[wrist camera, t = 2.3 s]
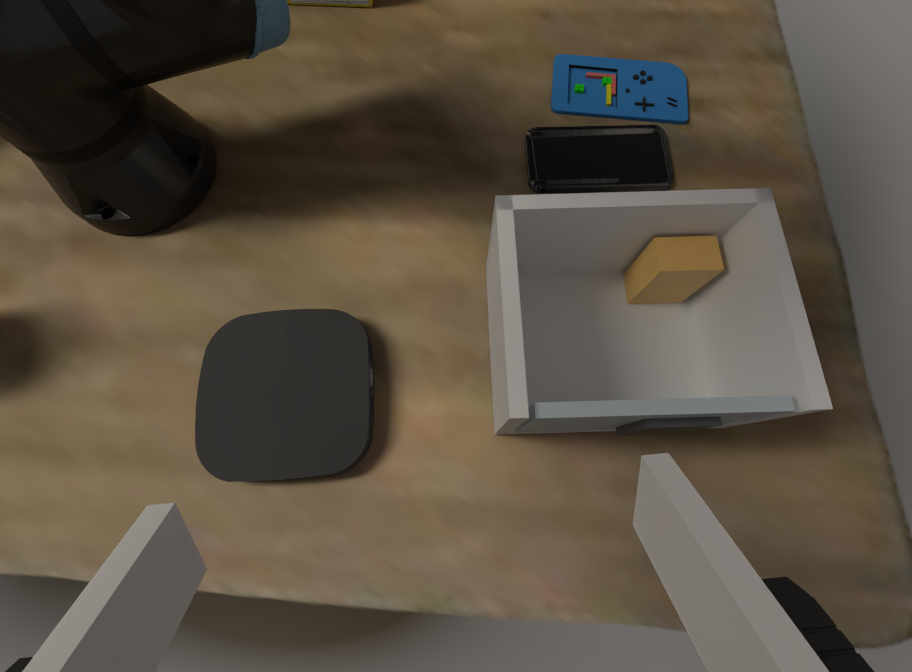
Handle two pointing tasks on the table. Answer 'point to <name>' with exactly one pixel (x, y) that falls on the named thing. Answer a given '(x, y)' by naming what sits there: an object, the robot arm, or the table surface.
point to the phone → (598, 159)
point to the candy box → (333, 3)
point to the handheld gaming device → (619, 89)
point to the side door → (651, 414)
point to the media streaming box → (285, 396)
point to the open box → (645, 302)
